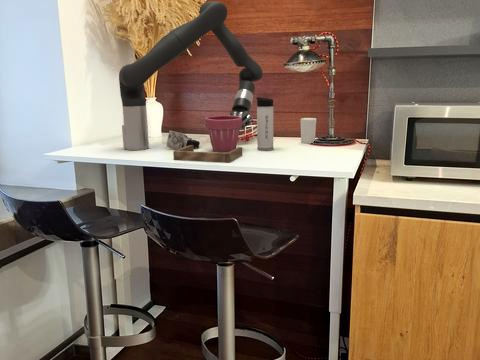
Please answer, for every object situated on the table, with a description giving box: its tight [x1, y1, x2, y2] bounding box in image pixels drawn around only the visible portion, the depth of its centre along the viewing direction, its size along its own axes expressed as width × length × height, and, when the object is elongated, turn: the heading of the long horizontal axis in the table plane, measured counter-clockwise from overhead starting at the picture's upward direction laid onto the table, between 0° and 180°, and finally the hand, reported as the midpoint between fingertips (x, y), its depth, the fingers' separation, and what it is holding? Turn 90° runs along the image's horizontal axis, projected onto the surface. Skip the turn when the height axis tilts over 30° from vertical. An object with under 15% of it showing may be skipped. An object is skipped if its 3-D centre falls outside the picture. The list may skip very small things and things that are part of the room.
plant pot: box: [204, 115, 242, 153], centre depth 175 cm, size 14×14×13 cm
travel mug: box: [255, 96, 274, 152], centre depth 174 cm, size 6×7×20 cm
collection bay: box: [172, 145, 243, 164], centre depth 162 cm, size 21×14×3 cm, turn 71°
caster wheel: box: [165, 130, 201, 151], centre depth 182 cm, size 7×11×10 cm
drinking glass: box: [300, 117, 317, 145], centre depth 189 cm, size 7×7×10 cm
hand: (233, 135), depth 186 cm, fingers closed
